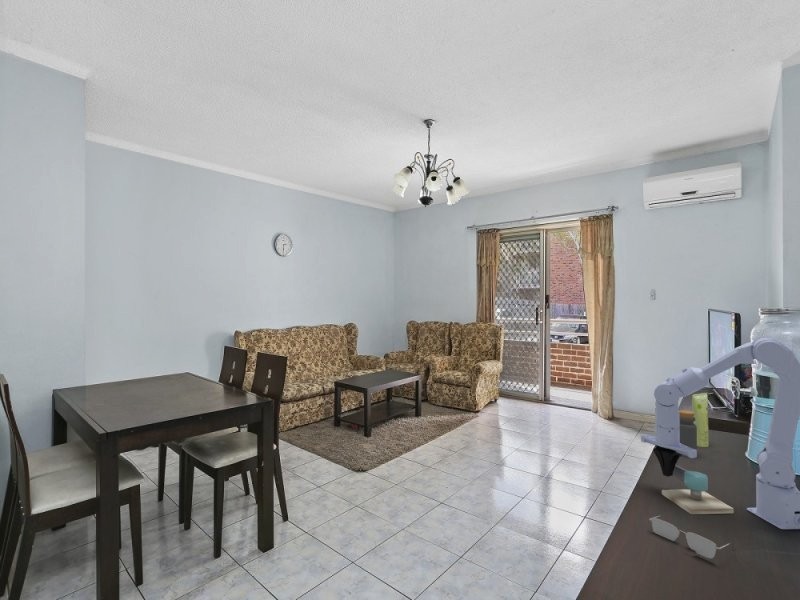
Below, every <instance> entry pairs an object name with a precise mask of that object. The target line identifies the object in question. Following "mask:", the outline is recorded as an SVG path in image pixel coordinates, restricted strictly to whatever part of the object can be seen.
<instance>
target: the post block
mask: <svg viewBox="0 0 800 600" xmlns="http://www.w3.org/2000/svg"><path fill="white" fill-rule="evenodd" d="M661 495H662V496H663V497H664V498H667V499H668V500H669V501H671V502H672V503H673V504H675V505H677V506H678V507H680V509H682V510H684V511H686V512H687V513H688V514H690V515H714V514H715V515H717V514H719V515H720V514H722V515H723V514H734V512H735V510H734V507H732V506H730V505H728V504H727V503H725V502H723V501H722V500H720V499H718V498H716V497H715V496H714V495H711V494H710V493H708V492H707V491H696V490H692V489H689V488H687V489H685V488H684V489H683V488H682V489H661Z"/></svg>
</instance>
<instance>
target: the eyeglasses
mask: <svg viewBox="0 0 800 600" xmlns="http://www.w3.org/2000/svg"><path fill="white" fill-rule="evenodd" d="M663 516H664V518H665V519H666V521H665V520H663V519H660V518H659V517H663ZM648 520H649V522H651V526H652V527H651V528H652V530H653V532H654V534H656V535H659V536H661V537H663V538H665V539H668V540H670V541H672V542H674V541H676V540H677V538H679V536H680V534H681V533H684V534H685V539H686V542H687V545H688V547H689V548H690V550H692V551H693V552H694V553H696V554H698V555H699V554H700V556H703V557H704V558H707V559H713V558H715V556H716V553H717V550H721V549H723V548H726V547H727V546H729V545H731V546H732V548H734V544H733V542H729V543H727V544H725V545H723V546H720V547H718V546H717V544H716V543H715V542H714V541H712V540H711V539H708V538H706V537H703V536H701V535H699V534H698V533H695V532H689V531H688V532H685V531H683V530H681V529H678V527H677V526H675V525H673V524H672V523H671V522H668V521H669V519H668V518H667V517H666V515H664V514H660V515H658V516H654V517H650V518H649V519H648ZM680 532H681V533H680Z"/></svg>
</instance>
